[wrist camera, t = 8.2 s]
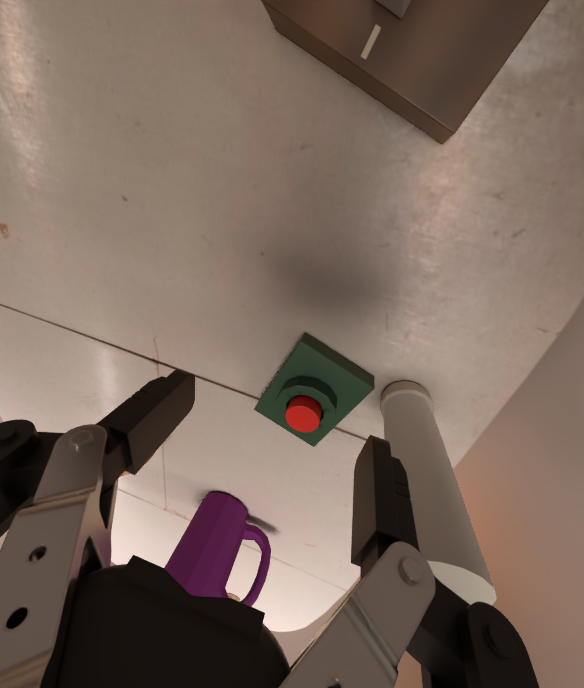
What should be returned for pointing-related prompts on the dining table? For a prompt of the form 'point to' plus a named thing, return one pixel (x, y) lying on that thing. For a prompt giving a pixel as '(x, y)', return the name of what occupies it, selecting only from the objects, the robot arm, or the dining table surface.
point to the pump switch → (315, 387)
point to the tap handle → (396, 6)
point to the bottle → (434, 493)
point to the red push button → (303, 413)
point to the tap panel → (412, 50)
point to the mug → (216, 549)
